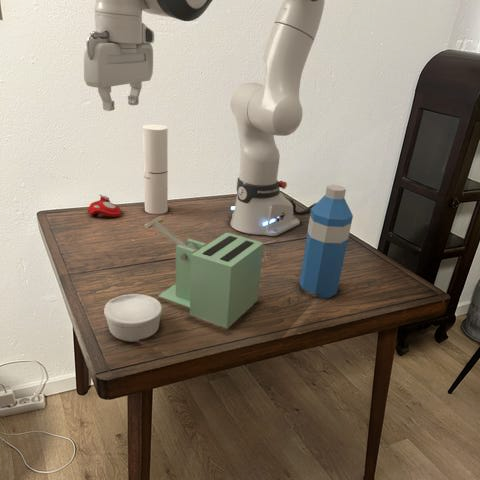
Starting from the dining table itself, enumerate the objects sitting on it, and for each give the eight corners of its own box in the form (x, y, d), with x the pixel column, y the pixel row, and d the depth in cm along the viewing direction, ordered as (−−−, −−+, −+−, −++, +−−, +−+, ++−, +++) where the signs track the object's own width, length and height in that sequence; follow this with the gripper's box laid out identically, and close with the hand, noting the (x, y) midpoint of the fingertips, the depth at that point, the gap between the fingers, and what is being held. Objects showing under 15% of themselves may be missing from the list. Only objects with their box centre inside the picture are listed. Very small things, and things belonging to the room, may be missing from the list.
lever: (142, 229, 105) (146, 220, 103) (157, 221, 109) (161, 213, 108) (187, 265, 104) (191, 256, 102) (200, 256, 108) (204, 248, 106)
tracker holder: (128, 211, 150) (99, 210, 142) (124, 224, 152) (95, 223, 145) (108, 191, 155) (79, 189, 148) (104, 204, 158) (76, 202, 150)
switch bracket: (158, 300, 110) (157, 245, 103) (180, 284, 117) (181, 231, 109) (199, 315, 106) (202, 259, 99) (221, 298, 113) (224, 244, 105)
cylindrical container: (163, 215, 153) (162, 131, 139) (141, 212, 154) (138, 127, 140) (170, 207, 159) (170, 126, 145) (149, 204, 160) (147, 123, 146)
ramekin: (143, 309, 106) (142, 288, 103) (173, 333, 99) (173, 311, 96) (95, 325, 99) (93, 303, 97) (123, 352, 93) (122, 329, 90)
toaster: (188, 319, 104) (190, 253, 96) (222, 292, 115) (226, 231, 107) (226, 333, 101) (231, 266, 93) (257, 304, 112) (264, 242, 104)
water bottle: (312, 301, 115) (331, 196, 101) (291, 283, 121) (306, 182, 108) (344, 294, 118) (367, 192, 105) (322, 277, 125) (340, 179, 112)
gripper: (102, 33, 87) (106, 116, 94) (158, 33, 103) (158, 104, 111) (72, 29, 89) (78, 111, 96) (132, 30, 105) (133, 100, 112)
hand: (121, 107), depth 103 cm, fingers open, 8 cm apart
